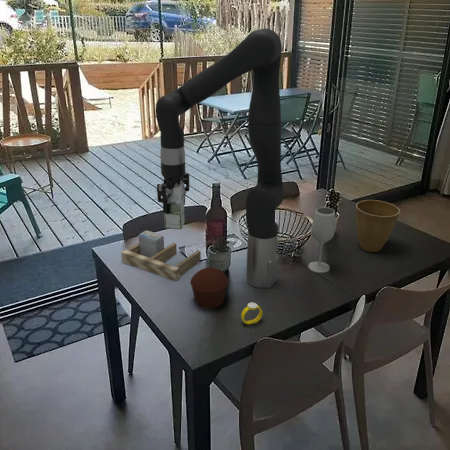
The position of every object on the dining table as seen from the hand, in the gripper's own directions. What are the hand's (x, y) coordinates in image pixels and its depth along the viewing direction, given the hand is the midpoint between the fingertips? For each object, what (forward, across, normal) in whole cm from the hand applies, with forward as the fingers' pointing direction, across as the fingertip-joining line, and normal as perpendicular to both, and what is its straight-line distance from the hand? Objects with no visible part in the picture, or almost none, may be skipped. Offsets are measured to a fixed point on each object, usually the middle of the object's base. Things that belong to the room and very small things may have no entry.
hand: (174, 209), depth 156 cm
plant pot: (+21, +48, -53) cm, 75 cm away
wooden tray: (+21, -1, +5) cm, 21 cm away
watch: (+21, -14, -37) cm, 45 cm away
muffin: (+21, -12, -21) cm, 32 cm away
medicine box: (+21, 0, +10) cm, 23 cm away
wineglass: (+21, +24, -42) cm, 53 cm away
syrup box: (+6, 0, 0) cm, 6 cm away
